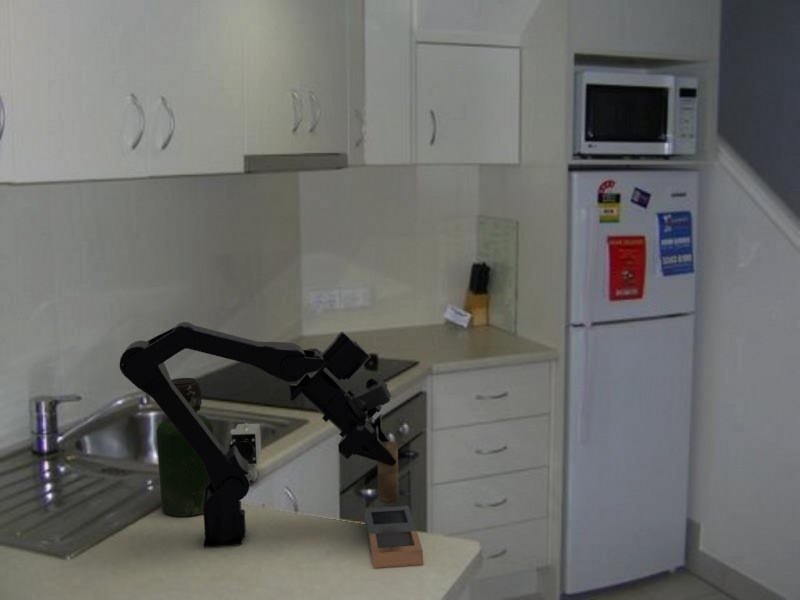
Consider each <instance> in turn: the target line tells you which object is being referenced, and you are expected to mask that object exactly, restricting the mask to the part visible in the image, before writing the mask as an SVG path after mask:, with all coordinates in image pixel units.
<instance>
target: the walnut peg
mask: <svg viewBox="0 0 800 600" xmlns="http://www.w3.org/2000/svg"><path fill="white" fill-rule="evenodd" d="M382 443H383V444H384V445H385V447H386V448H387V449H388V450H389V452H390V453H391V454H392V456H393V457H394V458H395V460H396V463H395V464H394V465H393V466H390V465H388V464H385V463H382V462H379V461H377V485H378V486H377V489H378V490H377V491H378V502H380V503H383V504H392V503H393V504H394V503H397V502H398V501H399V500H400V488H399V487H400V486H399V480H400V479H399V451H398V449H399V448H398V446H399V445H398V442H395V441H390V442H382Z"/></svg>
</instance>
